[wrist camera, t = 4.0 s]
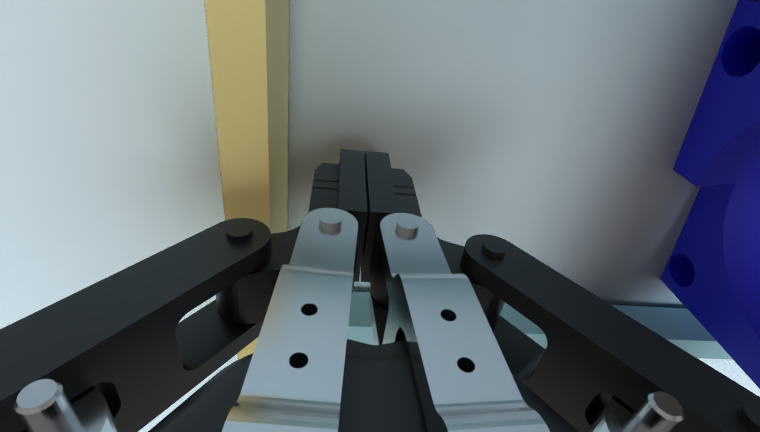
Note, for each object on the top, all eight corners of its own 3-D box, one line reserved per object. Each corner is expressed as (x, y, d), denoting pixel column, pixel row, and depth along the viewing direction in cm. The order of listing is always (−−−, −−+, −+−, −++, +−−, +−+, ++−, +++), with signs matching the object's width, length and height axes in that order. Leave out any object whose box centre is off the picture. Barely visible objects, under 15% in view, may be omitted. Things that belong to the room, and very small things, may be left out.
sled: (238, -187, 10) (169, -261, 6) (1067, -35, 13) (1363, -21, 9) (259, 306, 19) (237, 398, 15) (741, 328, 22) (822, 409, 18)
